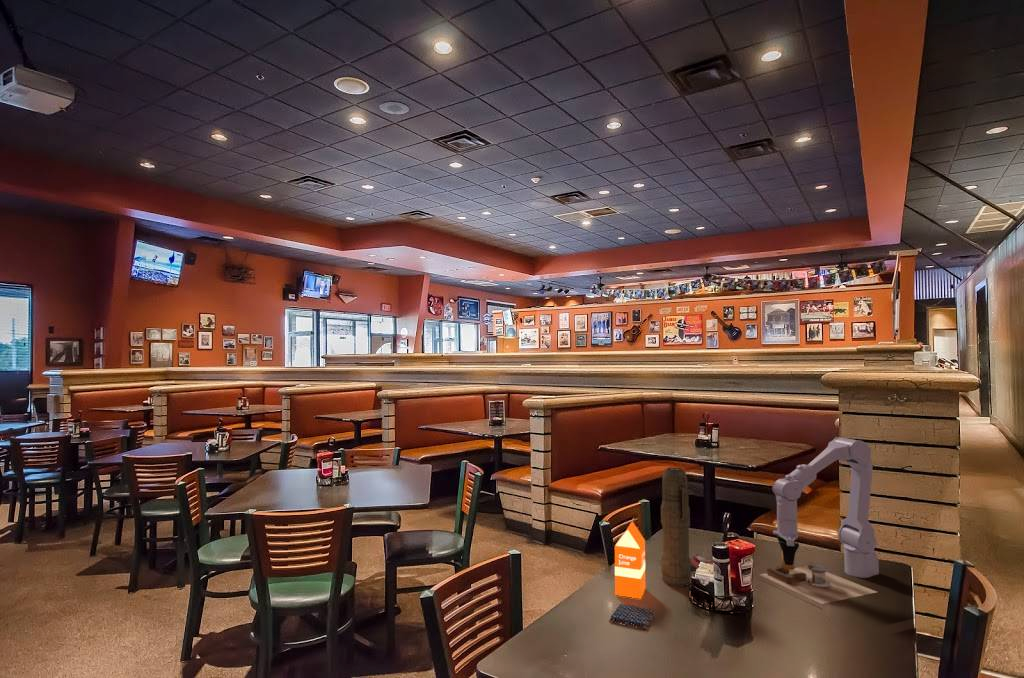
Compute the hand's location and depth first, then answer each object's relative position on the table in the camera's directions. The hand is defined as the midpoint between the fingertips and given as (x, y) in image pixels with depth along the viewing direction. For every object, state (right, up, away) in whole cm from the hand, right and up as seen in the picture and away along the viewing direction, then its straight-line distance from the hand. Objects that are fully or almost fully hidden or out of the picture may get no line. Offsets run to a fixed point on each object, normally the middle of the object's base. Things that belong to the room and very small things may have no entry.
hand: (788, 562), depth 176 cm
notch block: (-1, -5, 0) cm, 5 cm away
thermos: (-35, -7, +1) cm, 35 cm away
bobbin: (+7, -4, -5) cm, 10 cm away
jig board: (+6, -6, -5) cm, 10 cm away
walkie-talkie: (-23, -7, +11) cm, 27 cm away
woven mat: (-54, -6, -24) cm, 59 cm away
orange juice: (-51, -6, -7) cm, 51 cm away
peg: (0, -2, 0) cm, 2 cm away
